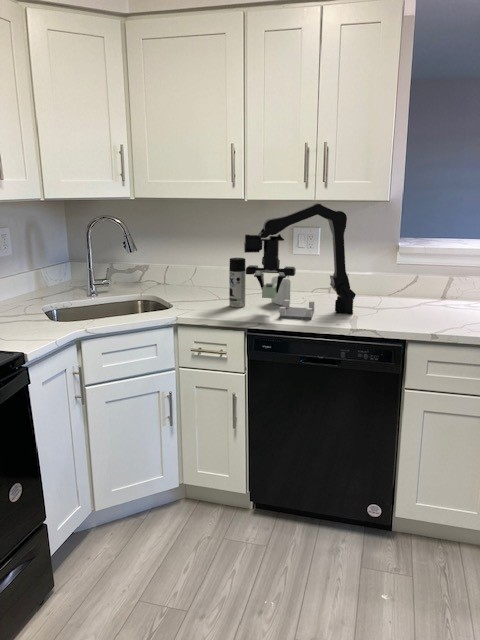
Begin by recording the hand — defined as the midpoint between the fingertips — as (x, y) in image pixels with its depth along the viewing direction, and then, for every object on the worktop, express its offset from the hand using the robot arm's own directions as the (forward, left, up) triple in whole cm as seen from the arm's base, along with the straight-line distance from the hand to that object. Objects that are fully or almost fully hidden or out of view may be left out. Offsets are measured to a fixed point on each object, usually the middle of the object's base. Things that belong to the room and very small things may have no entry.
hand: (270, 292), depth 201 cm
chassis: (-11, -1, -8) cm, 14 cm away
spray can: (+15, -10, -9) cm, 20 cm away
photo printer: (-2, -18, -9) cm, 20 cm away
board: (0, 0, -1) cm, 1 cm away
